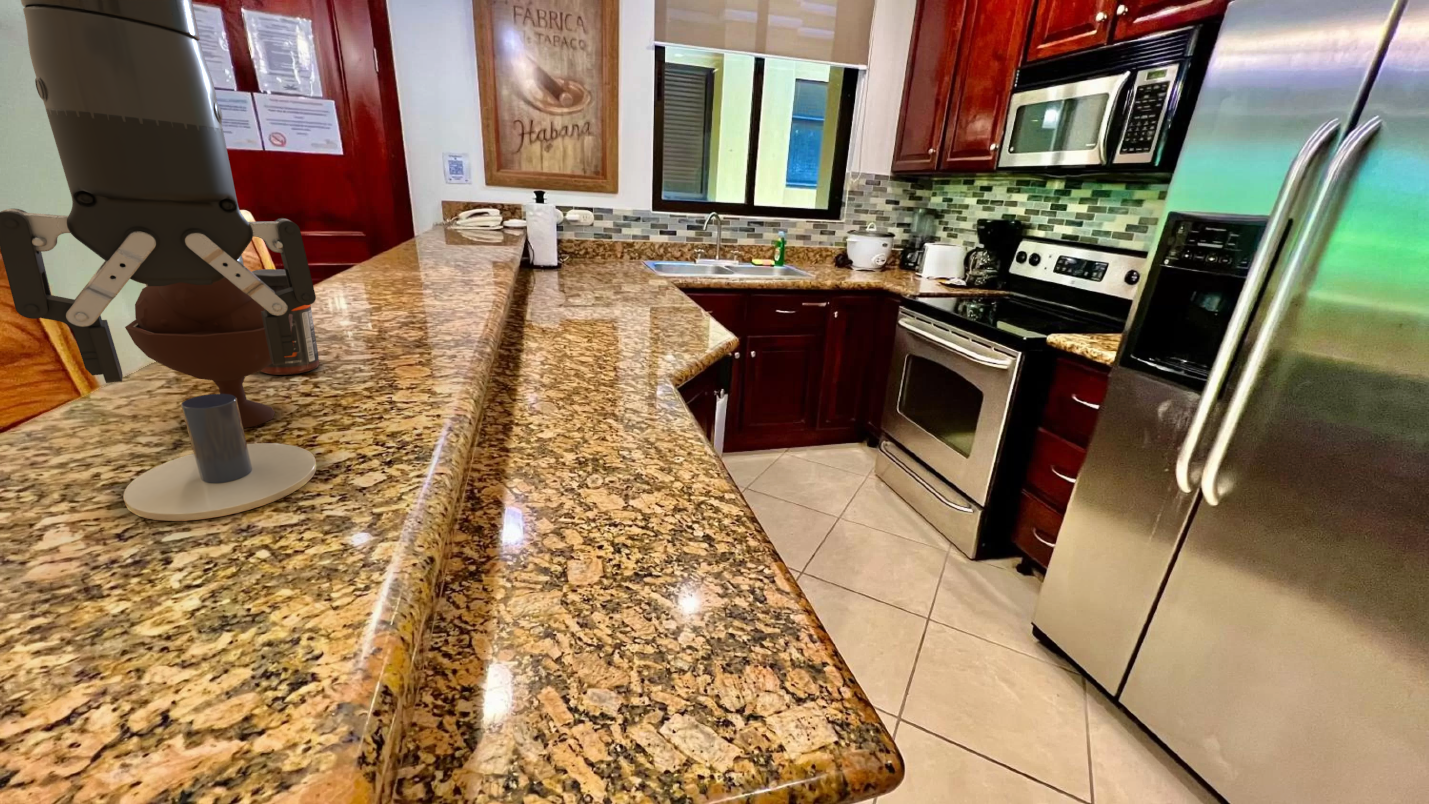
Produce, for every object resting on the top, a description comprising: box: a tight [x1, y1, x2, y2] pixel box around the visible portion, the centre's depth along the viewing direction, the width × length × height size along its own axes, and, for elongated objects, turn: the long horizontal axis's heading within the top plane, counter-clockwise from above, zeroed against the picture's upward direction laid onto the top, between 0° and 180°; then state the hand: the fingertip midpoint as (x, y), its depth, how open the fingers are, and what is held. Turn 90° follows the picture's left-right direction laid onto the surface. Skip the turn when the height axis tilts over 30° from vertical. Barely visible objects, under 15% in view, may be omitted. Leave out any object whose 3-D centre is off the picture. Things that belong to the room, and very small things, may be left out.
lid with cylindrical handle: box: [122, 393, 318, 522], centre depth 41 cm, size 11×11×7 cm
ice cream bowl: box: [124, 277, 293, 429], centre depth 49 cm, size 11×11×15 cm
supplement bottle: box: [251, 268, 320, 376], centre depth 63 cm, size 6×6×11 cm
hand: (202, 370), depth 39 cm, fingers open, 8 cm apart
